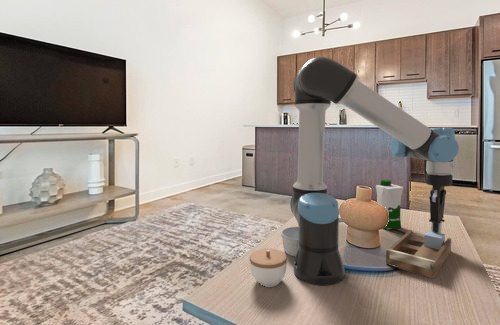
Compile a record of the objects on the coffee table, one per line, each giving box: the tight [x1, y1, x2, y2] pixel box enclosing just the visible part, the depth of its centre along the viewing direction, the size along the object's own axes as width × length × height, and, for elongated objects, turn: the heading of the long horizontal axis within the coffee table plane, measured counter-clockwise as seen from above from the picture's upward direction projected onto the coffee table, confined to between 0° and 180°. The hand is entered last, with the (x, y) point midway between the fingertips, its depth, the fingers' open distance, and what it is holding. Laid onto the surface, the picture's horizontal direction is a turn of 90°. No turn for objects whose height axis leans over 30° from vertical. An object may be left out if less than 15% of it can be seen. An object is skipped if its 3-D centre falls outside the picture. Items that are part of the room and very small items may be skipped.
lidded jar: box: [249, 248, 288, 288], centre depth 82 cm, size 11×11×9 cm
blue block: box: [423, 230, 446, 250], centre depth 96 cm, size 5×5×4 cm
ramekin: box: [280, 226, 299, 257], centre depth 102 cm, size 13×13×7 cm
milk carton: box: [375, 179, 404, 230], centre depth 122 cm, size 9×9×20 cm
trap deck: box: [385, 229, 452, 279], centre depth 93 cm, size 13×24×5 cm, turn 135°
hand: (435, 239), depth 99 cm, fingers closed
